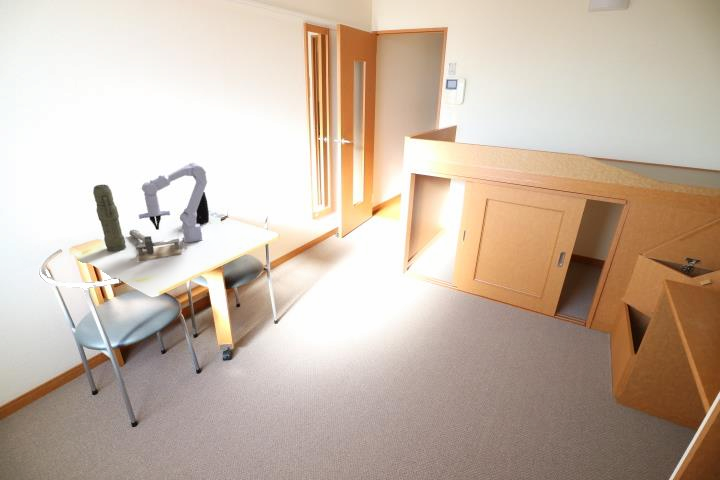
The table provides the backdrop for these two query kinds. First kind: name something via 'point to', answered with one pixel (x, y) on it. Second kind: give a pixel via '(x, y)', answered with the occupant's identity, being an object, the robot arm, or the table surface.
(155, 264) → the table surface
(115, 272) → the table surface
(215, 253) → the table surface
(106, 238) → the olive green carved statue
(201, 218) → the portable speaker
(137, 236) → the toothbrush head
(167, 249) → the pipe rig
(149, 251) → the tall grey prism
